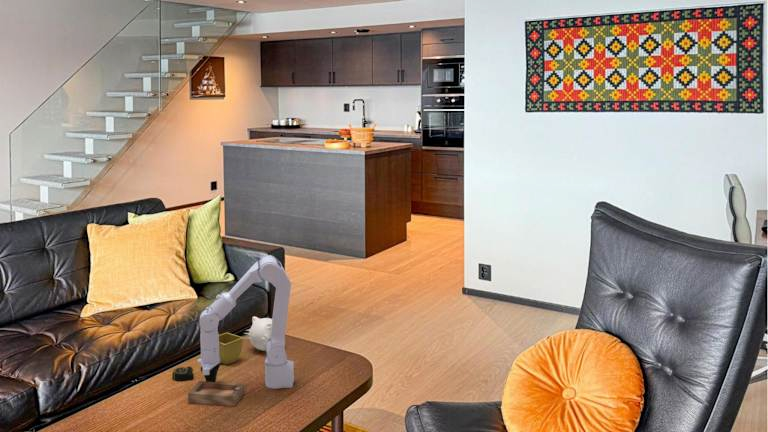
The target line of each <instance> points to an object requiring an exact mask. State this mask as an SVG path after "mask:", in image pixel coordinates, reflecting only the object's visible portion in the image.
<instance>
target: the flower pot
mask: <svg viewBox="0 0 768 432" xmlns="http://www.w3.org/2000/svg"><path fill="white" fill-rule="evenodd" d="M243 338H244V337H242V336H239V335H236V334H232V333H230V332H223V333H222V334H219V358H220V364H222V365H224V366H227V365H229V364H232V363H234V362H237V361H238V360H239V357H240V355H241V353H242V350H243V340H244V339H243Z"/></svg>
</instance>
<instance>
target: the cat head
mask: <svg viewBox="0 0 768 432" xmlns="http://www.w3.org/2000/svg"><path fill="white" fill-rule="evenodd" d="M251 319H252V320H251V321H252V325H251V327H250V328H249V329H246V330H245V331H247V332H243V334H245V335H248V336H247V337H243V340H244V339H248V340H249V342H250V343H251V345H252V346H253V347H254V348H255V349H257V350H259V351H262V352H266V348H265V346H266V343H267V341H268V340H269V336H270V332H271V325H272V318H270V317H263V318H260V317H257V316H252V318H251Z"/></svg>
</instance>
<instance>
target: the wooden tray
mask: <svg viewBox="0 0 768 432" xmlns="http://www.w3.org/2000/svg"><path fill="white" fill-rule="evenodd" d="M244 395H245V383H239V382H238V383H237V382H222V381H216V382H210V381H206V380H198V382H196V383H195V385H194V386H193V387H192V388H191V389H190V391H188V393H187V402H188V404H199V405H200V404H201V405H214V406H229V407H236V406H237V404H238V403H239V402H240V400H241V399H242V397H243V396H244Z"/></svg>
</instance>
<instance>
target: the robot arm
mask: <svg viewBox="0 0 768 432" xmlns="http://www.w3.org/2000/svg"><path fill="white" fill-rule="evenodd" d="M263 280H264V281H265V282H268V283H270V284H271V285H272V286H273V287H274V288H275V292H274V300H273V308H272V309H273V311H272V318H271V319H272V325H271V332H270V336H269V340H268V341H267V343H266V346H265V348H266V351H265V352H266V357H265V359H264V375H265V377H264V379H265V381H264V384H265V386H266V387H267V388H268V389H272V390H274V389H282V388H283V389H285V388H286V389H288V388H289V389H290V388H293V386H294V383H295V377H294V376H295V375H294V374H295V372H294V370H295V369H294V368H295V367H294V366H295V365H294V361H293V360H289V359H287V352H286V348H285V346H286V329H287V320H288V313H289V305H290V297H291V287H292V282H291V280H290V277H289V276H288V274H287V272H286V270H285V269H284V267H283V265H282V263H281V261H279V259H278V258H276V257H275V256H274V255H271V254H265V255H262V257H260V259H259V260H258V261H256V262H255V263H254V264H253V265H252V266H251V267H250V268H249V269H248V270H247V271H246V272H245V273H244V274H243V276H242V277H241V278H240V279H239V280H238V281H237V282H236V283H235V284H234V285H233V287H232V288H231V289H230V290H229V291H227V292H226V291H225V292H222V293H221V294H217V295H216V296H215V300H214V302H212V303H211V304H210V305H208V306H207V307H206V308H205V309H204V310H203V311H202V312H201V313H200V316H199V322H198V323H199V328H200V330H199V331H200V334H199V338H200V339H199V340H200V341H199V342H200V358H198V359H197V361H196V362H197V364H200V365H201V366H200V371H201V373H202V376H204V378H205V381H210V382H217V375H218V371H219V370H220V367H221V363H220V358H219V335H220V334H219V331H218V330H219V329H218V327H219V324H220V321H221V320H223V319H224V318H225V317H226V316H227V315H228V314H229V313H230V312H231V311H232V310H233V308H235V306H237V299H238V298H239V297H240V296H241V295H242V294H243V293H244V292H245V291H246V290H247V289H248V288H250V287H251V286H252V285H253V284H255V283H263Z"/></svg>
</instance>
